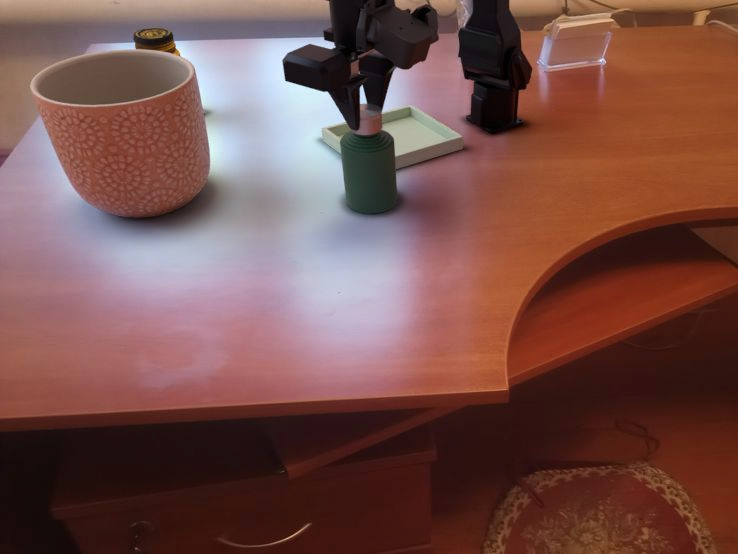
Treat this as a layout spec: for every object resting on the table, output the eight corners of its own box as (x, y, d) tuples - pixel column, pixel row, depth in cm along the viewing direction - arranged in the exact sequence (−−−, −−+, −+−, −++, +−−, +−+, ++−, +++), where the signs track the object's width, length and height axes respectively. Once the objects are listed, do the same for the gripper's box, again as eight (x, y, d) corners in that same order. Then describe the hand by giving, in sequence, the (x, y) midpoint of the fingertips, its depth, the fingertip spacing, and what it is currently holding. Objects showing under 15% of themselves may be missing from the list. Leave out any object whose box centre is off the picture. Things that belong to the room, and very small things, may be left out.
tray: (411, 116, 110) (411, 104, 109) (462, 148, 103) (463, 136, 101) (322, 140, 103) (321, 128, 102) (370, 177, 96) (369, 164, 94)
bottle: (388, 184, 94) (383, 102, 87) (404, 208, 90) (400, 123, 82) (340, 193, 92) (331, 109, 85) (353, 217, 88) (345, 132, 80)
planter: (64, 241, 82) (13, 111, 72) (87, 171, 95) (45, 52, 85) (220, 226, 85) (191, 100, 75) (222, 161, 98) (197, 45, 88)
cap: (386, 123, 86) (385, 105, 84) (376, 137, 83) (375, 118, 81) (356, 119, 86) (354, 101, 85) (344, 133, 84) (343, 114, 82)
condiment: (206, 113, 109) (188, 30, 102) (164, 133, 104) (142, 47, 96) (170, 103, 112) (149, 21, 104) (127, 122, 106) (102, 38, 98)
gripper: (361, 14, 65) (372, 173, 75) (469, -30, 77) (466, 112, 87) (268, -7, 69) (290, 146, 79) (384, -46, 81) (391, 92, 91)
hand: (365, 123), depth 84 cm, fingers closed on cap, 4 cm apart
